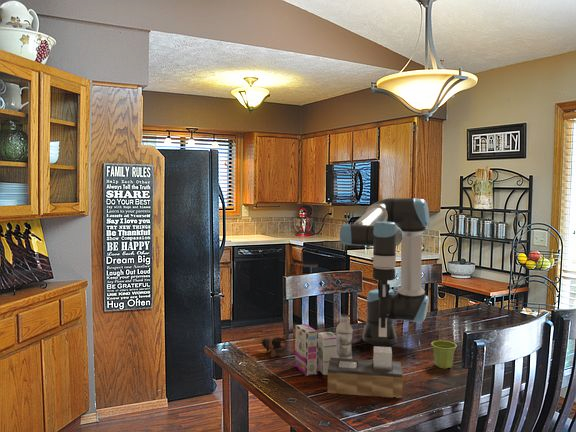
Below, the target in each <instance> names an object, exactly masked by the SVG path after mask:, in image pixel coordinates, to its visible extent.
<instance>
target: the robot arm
mask: <svg viewBox="0 0 576 432" xmlns="http://www.w3.org/2000/svg"><path fill="white" fill-rule="evenodd" d="M429 225H430V211H429V205H428V203H427V201H426V200H425V199H423V198H416V197H415V198H414V197H413V198H411V197H408V198H407V197H406V198H403V197H402V198H401V197H400V198H398V197H397V198H396V197H390V198H389V197H388V198H383V199H381V200H378V201H376V202H373V203H372V204H371V205H369V206H367V208H366V210H365V213H364V214H363V215H362V216H360V217H359V218H358V219H357V220H356V221H355V222H353V224H350V223H348V224H347V223H345V224H342V225H341V226H340V229H339V240H340V243H341V244H343V245H349V246H361V247H362V246H363V247H364V246H365V247H366V246H367V247H373V249H372V256H371V257H370V260H371V261H372V266H373V268H372V279H374V280H377V281H379V283H377V288H375V289H371V290H370V291H368V293H367V295H366V296H367V297H366V324H365V327H364V329H363V333H362V341H363V342H364V343H366V344H369V345H373V346H381V347H384V346H393V345H394V344H396V343H397V341H398V340H397V339H398V337H397V334H396V330H395V327H394V320H395V321H396V320H397V321H405V322H412V323H423V322H425V319H426V317H427V312H428V309H429V308H428V307H429V302H430V301H429V300H430V298H429V297H430V296H428V295H426V290H424V288H423V286H422V252H423V251H422V239H423V238H422V237H423V235H422V234H423V233H425V231H426V228H428V226H429ZM399 245H400V283H401V284H400V287H399V288H398V289H397V292H395V291H394V288H393V289H392V288H391V287H390V283H388V281H394V280H395V279H396V268H395V267H396V266H397V265H396V264H397V263H396V262H397V260H396V258H397V256H396V255H397V253H396V251H397V249H396V248H397V246H399Z"/></svg>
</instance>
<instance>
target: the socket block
mask: <svg viewBox="0 0 576 432" xmlns="http://www.w3.org/2000/svg"><path fill="white" fill-rule="evenodd" d="M339 361H347V362H357V369H354V368H338V367H339ZM403 375H404V374H403V370H402V363H401V361H393V360H392V371H385V370H373V359H360V358H353V359H346V358H330V362H329V367H328V375H327V393H328V394H337V393H338V394H340V395H354V396H355V395H356V396H366V397H367V396H369V397H379V396H380V398H381V397H382V398H393V397H396V398H395V399H403V377H404V376H403Z"/></svg>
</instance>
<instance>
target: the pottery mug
mask: <svg viewBox="0 0 576 432" xmlns="http://www.w3.org/2000/svg"><path fill="white" fill-rule="evenodd" d="M283 342H284V343H285V345H284V346H283V345H282V344H281V343H283ZM261 345H262V346H263V348H265V350H266V352H269V351H270V357H271V358H275V357H277V356H280V355H281V356H282V355H284V354H285V353H286V352H287V351H288V350H289V349H290V347H289V346H288V341H287V339H285V338H284V337H282V336H273V337H272V338H271V339H269V338H263V339H262V340H261Z"/></svg>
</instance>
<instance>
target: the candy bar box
mask: <svg viewBox="0 0 576 432" xmlns="http://www.w3.org/2000/svg"><path fill="white" fill-rule="evenodd" d="M294 326H295V333H294V338H295V342H294V344H295V345H294V346H295V347H294V367H295V368H296V369H297V370H299V371H300V372H301V373H302V374H303V375H304V376H305V377H309V376H316V375H318V333H319V331H318V330H316V329H315V328H313V327H311V326H310V325H309V324H306V323H303V324H296V325H294Z"/></svg>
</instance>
